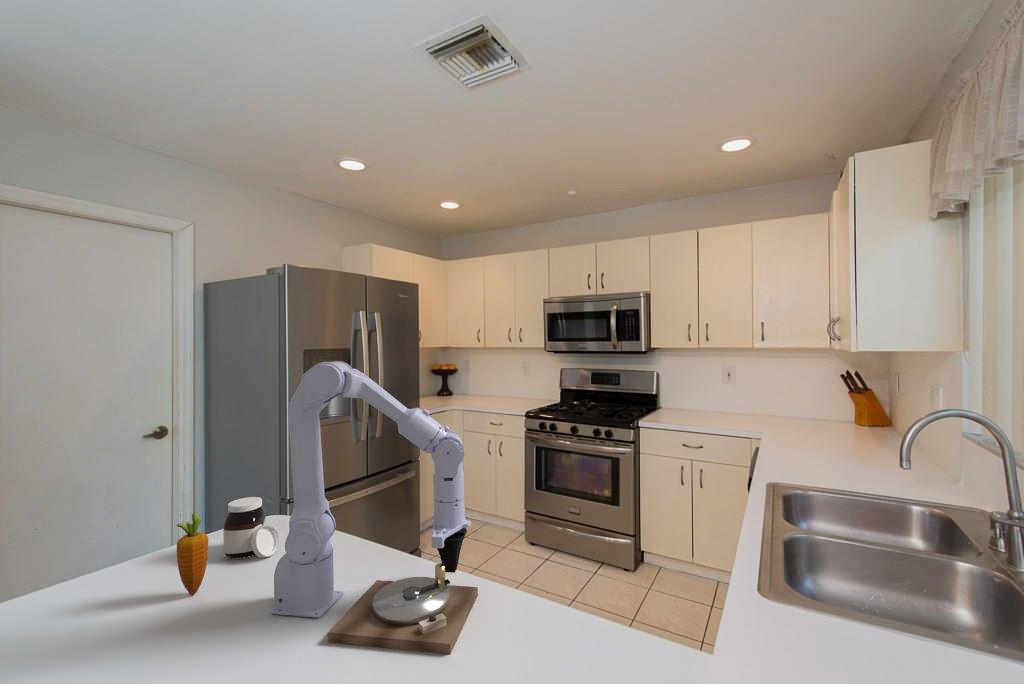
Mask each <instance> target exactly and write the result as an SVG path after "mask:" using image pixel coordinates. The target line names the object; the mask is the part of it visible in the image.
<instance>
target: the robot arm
mask: <svg viewBox="0 0 1024 684" xmlns="http://www.w3.org/2000/svg"><path fill="white" fill-rule="evenodd" d="M340 395H341V397H342V398H349V399H360V400H362V401H365V402H366V403H367V404H368V405H370V406H371V407H373V408H374V409H376V410H378V411H379V412H380V413H382V414H384V415H385V416H386V417H388V418H389V419H390V420H393V421H394V422H395V423H396V424H397V431H398V433H399V434H400V435H401V436H403V438H406V439H407V440H408V441H410V442H411V443H412V444H414V445H415V446H416V447H417V448H419V449H420V450H421V451H423V452H424V453H426V454H428V453H429V454H430V455H431V459H432V461H433V463H434V473H433V476H432V477H433V479H432V481H433V522H432V530H433V531H432V535H431V536H430V537H431V539H430V541H431V545H430V546H431V548H432V549H436V550H437V551H438V554H439V557H440V561H441V564H445V573H451V574H453V573H456V572H457V570H458V565H459V560H460V555H461V549H462V546H463V543H464V540H465V537H466V535H467V532H468V530H467V529H468V528H470V527H471V525H472V522H471V520H470V519H469V520H467V518H466V507H465V472H464V463H463V461H464V458H465V450H464V442H463V441H462V439H461V437H460V435H458V434H457V432H456V431H453V430H450V429H451V428H450V427H449V426H447V425H444V426H443V425H442V424H441V423H439V422H438V421H436V420H435V419H434V418H432V417H431V416H430V414H431V412H430V411H429V410H427V409H426V408H424V409H423V410H422V409H421V408H419V407H414V408H407V407H406V406H405V405H404V404H403V403H401V401H399V400H398V399H396V398H395V397H394V396H393V395H391V393H389V392H388V391H387V390H385V389H384V388H383V387H381V386H380V385H379V384H378V383H377V382H375V381H374V380H373V379H371V378H370V377H369V376H367V375H366V374H365V373H363V372H362V371H360V370H358V369H357V368H353V367H351V365H350V364H348V363H347V362H345V361H341V360H333V361H321V362H318V363H316V364H314V365H313V366H312V367H311V368H309V369H308V370H307V371H305V372H304V373H303V374H302V375H301V379H300V382H299V384H298V386H297V388H296V390H295V392H294V394H293V396H292V397H291V399H290V401H289V402H288V405H287V406H288V407H287V415H288V416H287V417H288V431H289V444H290V445H289V446H290V462H291V477H292V490H293V491H292V494H293V508H292V511H291V515H290V517H289V521H288V526H289V529H288V535H287V537H286V539H285V541H284V550H285V554H283V555H282V556H281V557H280V558H279V560H278V562H277V563H276V566H275V570H274V573H273V592H274V593H273V595H274V596H273V597H274V599H273V602H274V603H273V604H274V606H273V607H274V608H273V609H271V611H270V613H271V614H272V615H282V616H293V617H294V616H295V617H306V618H316V619H318V618H321V617H322V616H323V615H324V614H325V613H326V612H327V611H328V610H329V609H330V608H331V607H332V606H333V605H334V604H335V603H337V602H338V601H339V599H340V598H342V597H343V596H344V595H345V594H344V591H343V590H335V589H334V588H335V587H334V586H335V585H334V579H335V578H334V575H335V574H334V547H333V544H332V542H331V541H330V540H331V537H332V536H333V535H334V533H335V530H336V527H337V525H336V524H337V523H336V520H335V517H334V516H333V514H332V513H331V510H330V503H329V500H328V499H327V498H326V496H325V495H326V494H325V480H324V479H325V478H324V466H323V465H324V464H323V463H324V462H323V452H322V448H323V447H322V436H321V421H320V419H321V418H320V413H321V411H322V410H323V409H325V408H326V406H328V404H329V403H330V402H332V400H334V399H335V398H337V397H338V396H339V397H340Z"/></svg>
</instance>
